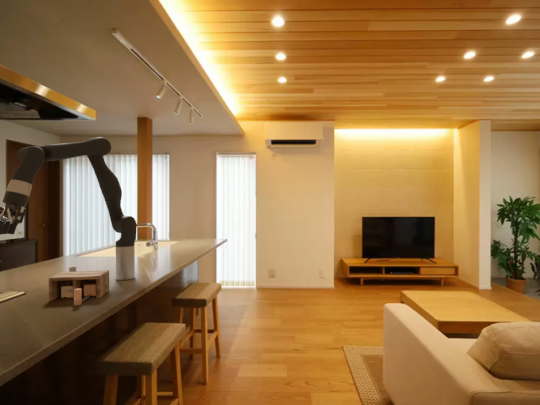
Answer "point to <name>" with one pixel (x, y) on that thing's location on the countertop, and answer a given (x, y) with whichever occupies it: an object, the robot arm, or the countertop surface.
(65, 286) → the maple block
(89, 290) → the tethered block
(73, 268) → the flask
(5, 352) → the countertop surface
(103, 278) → the walnut shelf
